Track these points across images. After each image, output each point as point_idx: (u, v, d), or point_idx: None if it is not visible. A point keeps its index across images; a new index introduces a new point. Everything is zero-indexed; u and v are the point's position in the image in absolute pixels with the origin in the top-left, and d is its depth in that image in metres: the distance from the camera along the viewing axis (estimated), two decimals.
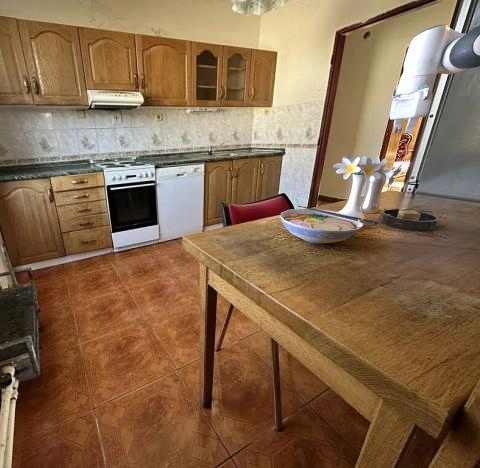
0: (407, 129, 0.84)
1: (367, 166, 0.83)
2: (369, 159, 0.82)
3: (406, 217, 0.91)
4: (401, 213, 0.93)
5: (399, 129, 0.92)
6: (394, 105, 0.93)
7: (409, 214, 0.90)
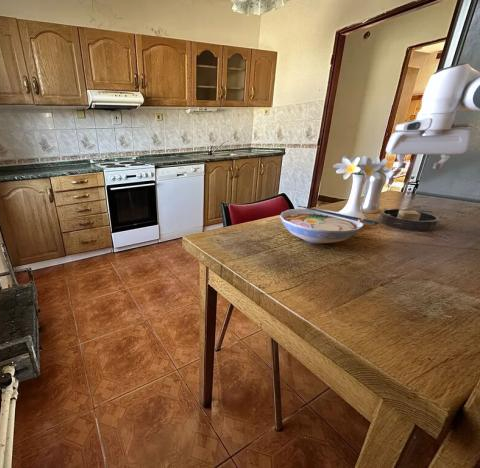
0: None
1: (367, 166, 0.83)
2: (369, 159, 0.82)
3: (406, 217, 0.91)
4: (401, 213, 0.93)
5: None
6: (401, 139, 0.85)
7: (409, 214, 0.90)
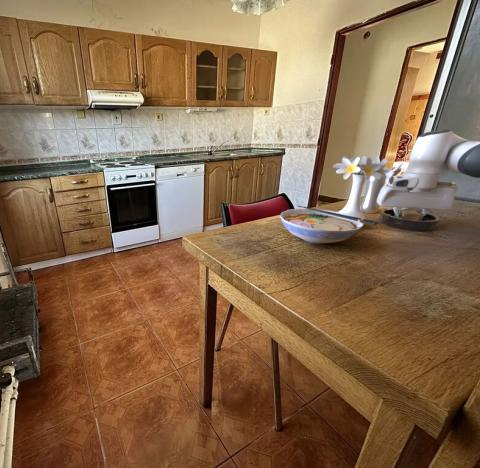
0: None
1: (367, 166, 0.83)
2: (369, 159, 0.82)
3: (406, 217, 0.91)
4: (401, 213, 0.93)
5: None
6: (390, 193, 0.90)
7: (409, 214, 0.90)
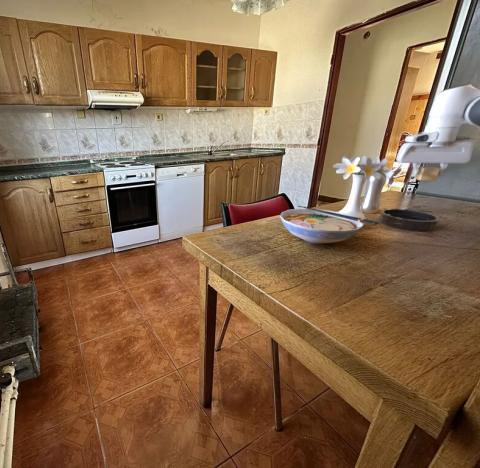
0: None
1: (367, 166, 0.83)
2: (369, 159, 0.82)
3: (425, 172, 0.96)
4: (420, 169, 0.98)
5: None
6: (411, 149, 0.95)
7: (428, 169, 0.95)
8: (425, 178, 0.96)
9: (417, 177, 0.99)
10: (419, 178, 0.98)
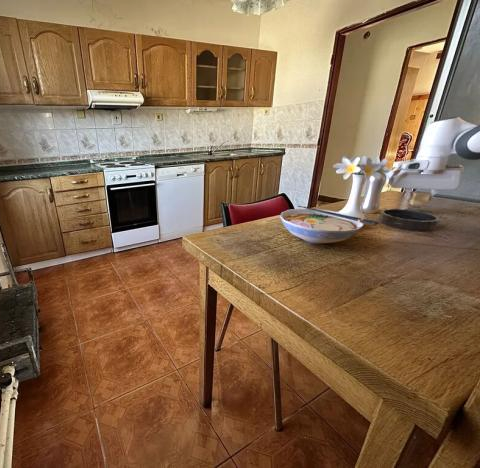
0: None
1: (367, 166, 0.83)
2: (369, 159, 0.82)
3: (417, 197, 1.00)
4: (412, 194, 1.02)
5: None
6: (403, 176, 1.00)
7: (420, 194, 1.00)
8: (417, 203, 1.01)
9: (409, 201, 1.04)
10: (411, 202, 1.02)
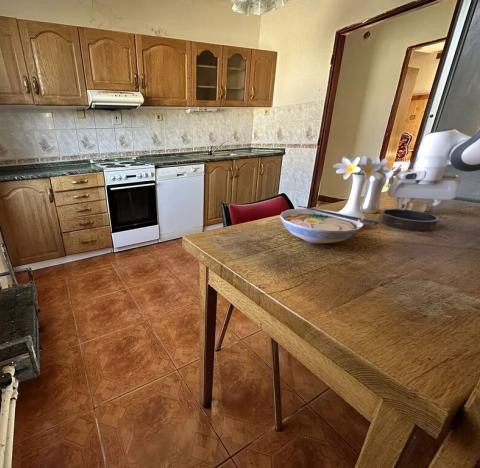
0: None
1: (367, 166, 0.83)
2: (369, 159, 0.82)
3: (414, 208, 1.02)
4: (409, 204, 1.04)
5: None
6: (400, 185, 1.01)
7: (416, 205, 1.01)
8: None
9: None
10: None
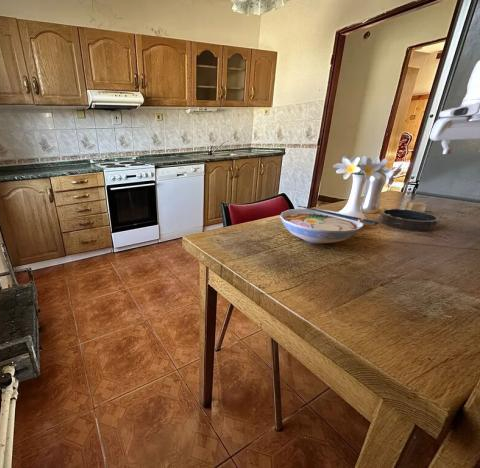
0: None
1: (367, 166, 0.83)
2: (369, 159, 0.82)
3: (414, 208, 1.02)
4: (409, 204, 1.04)
5: None
6: (447, 125, 0.86)
7: (416, 205, 1.01)
8: None
9: None
10: None
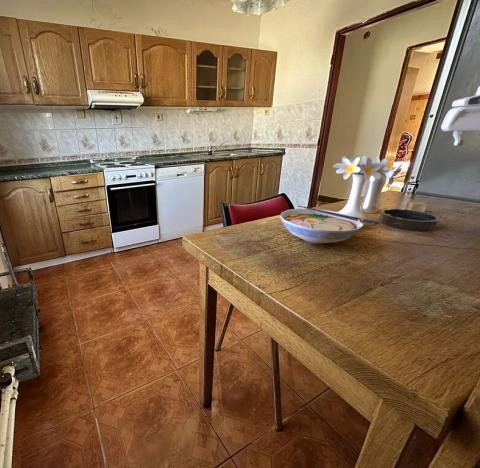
0: None
1: (367, 166, 0.83)
2: (369, 159, 0.82)
3: (414, 208, 1.02)
4: (409, 204, 1.04)
5: None
6: (460, 115, 0.83)
7: (416, 205, 1.01)
8: None
9: None
10: None
